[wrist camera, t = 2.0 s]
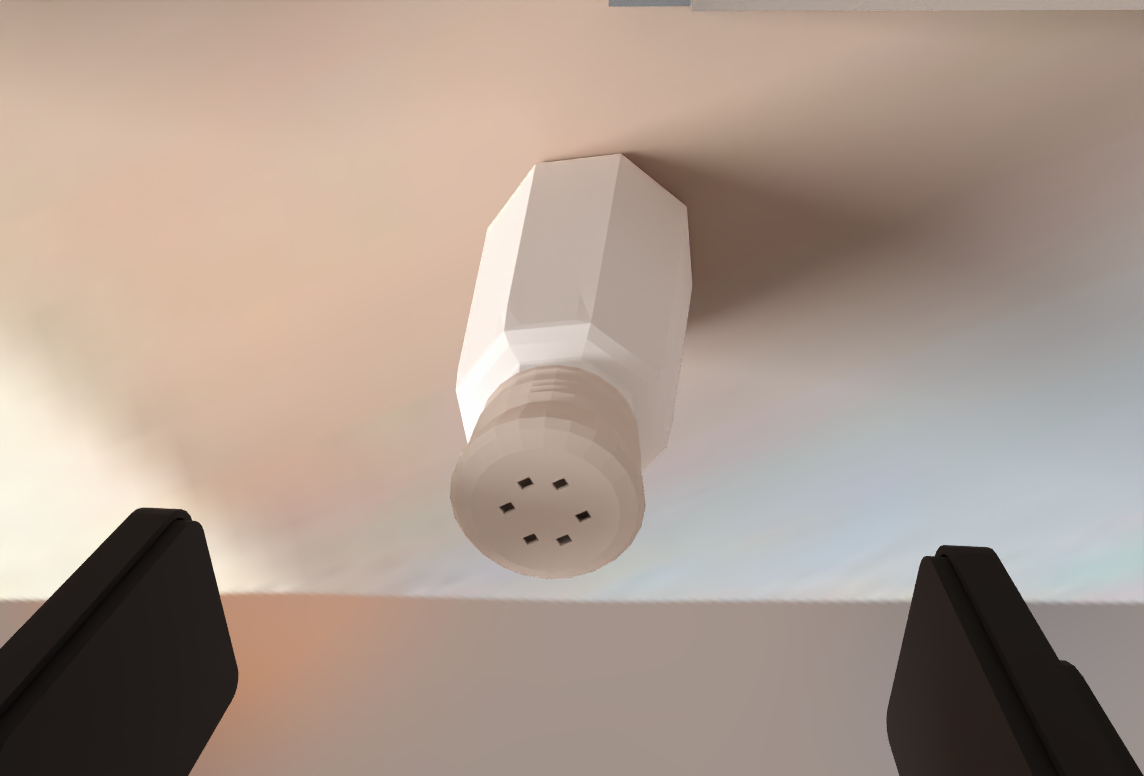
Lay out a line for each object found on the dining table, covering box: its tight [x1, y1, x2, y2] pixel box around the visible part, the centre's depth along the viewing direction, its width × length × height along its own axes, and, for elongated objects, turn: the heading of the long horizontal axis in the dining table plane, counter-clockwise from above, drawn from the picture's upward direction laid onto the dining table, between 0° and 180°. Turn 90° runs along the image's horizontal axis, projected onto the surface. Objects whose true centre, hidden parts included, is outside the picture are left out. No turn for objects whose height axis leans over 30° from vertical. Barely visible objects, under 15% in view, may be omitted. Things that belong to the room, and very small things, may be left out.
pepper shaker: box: [450, 153, 692, 579], centre depth 17 cm, size 5×5×11 cm
